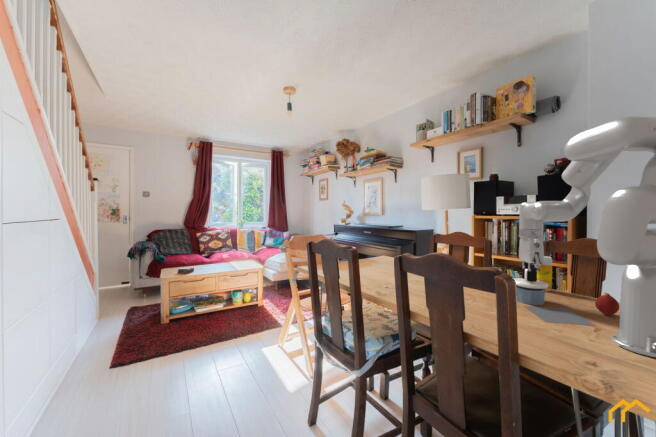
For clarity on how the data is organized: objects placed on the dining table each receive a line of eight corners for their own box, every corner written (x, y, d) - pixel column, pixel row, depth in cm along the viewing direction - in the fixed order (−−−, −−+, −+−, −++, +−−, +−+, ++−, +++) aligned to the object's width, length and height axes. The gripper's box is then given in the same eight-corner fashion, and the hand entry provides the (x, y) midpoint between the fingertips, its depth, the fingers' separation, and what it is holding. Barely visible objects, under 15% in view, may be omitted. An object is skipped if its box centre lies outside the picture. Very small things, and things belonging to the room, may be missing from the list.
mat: (596, 327, 87) (596, 325, 87) (545, 323, 90) (545, 321, 90) (566, 309, 102) (566, 308, 102) (523, 306, 105) (523, 305, 105)
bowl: (550, 306, 105) (550, 292, 105) (520, 304, 107) (520, 290, 107) (536, 298, 115) (536, 284, 115) (509, 296, 117) (509, 283, 117)
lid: (555, 289, 104) (556, 273, 103) (519, 287, 106) (519, 272, 106) (538, 281, 115) (538, 266, 115) (505, 279, 118) (506, 265, 117)
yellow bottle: (531, 288, 129) (532, 256, 128) (540, 287, 130) (541, 255, 130) (544, 292, 123) (546, 258, 122) (554, 291, 125) (555, 257, 124)
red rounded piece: (608, 312, 99) (609, 290, 99) (623, 319, 93) (624, 295, 93) (590, 312, 99) (591, 290, 99) (604, 318, 94) (605, 295, 93)
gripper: (553, 235, 101) (552, 286, 102) (531, 232, 117) (529, 275, 118) (530, 235, 103) (528, 285, 103) (511, 231, 119) (509, 274, 119)
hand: (529, 279), depth 111 cm, fingers closed on lid, 3 cm apart
